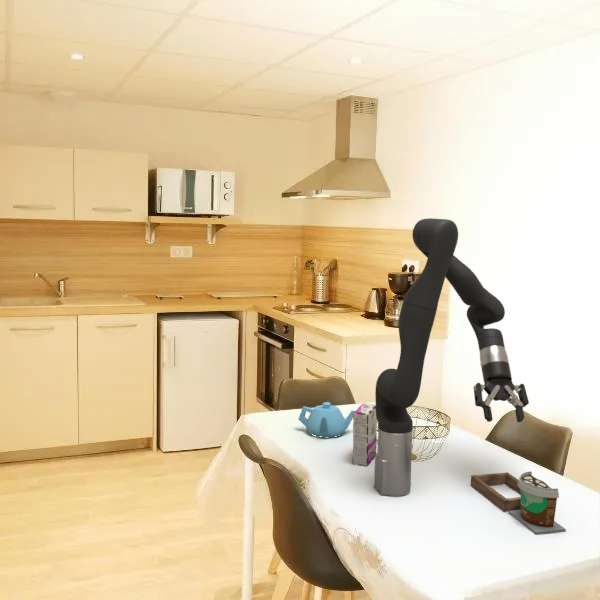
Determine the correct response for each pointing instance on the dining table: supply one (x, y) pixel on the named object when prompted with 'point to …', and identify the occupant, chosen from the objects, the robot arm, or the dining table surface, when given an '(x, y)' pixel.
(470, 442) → the dining table surface
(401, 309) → the robot arm
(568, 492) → the dining table surface
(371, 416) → the candy bar box
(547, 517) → the food container
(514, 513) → the rubber mat
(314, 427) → the teapot
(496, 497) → the walnut frame
